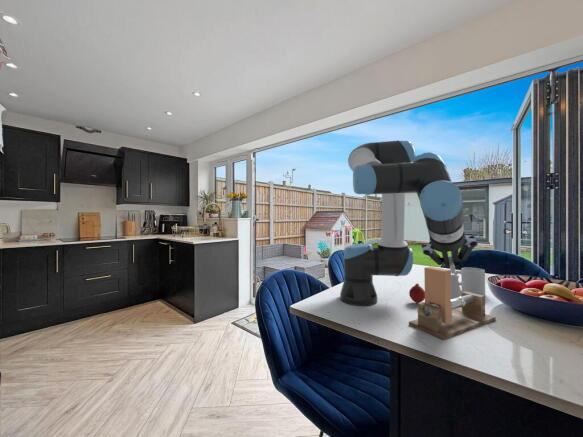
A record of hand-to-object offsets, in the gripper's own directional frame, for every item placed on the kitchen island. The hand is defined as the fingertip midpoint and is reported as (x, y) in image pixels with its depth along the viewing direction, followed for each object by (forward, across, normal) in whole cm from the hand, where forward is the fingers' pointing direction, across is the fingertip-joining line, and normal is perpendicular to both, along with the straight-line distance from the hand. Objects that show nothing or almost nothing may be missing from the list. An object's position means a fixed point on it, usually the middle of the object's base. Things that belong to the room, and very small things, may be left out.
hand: (452, 269), depth 76 cm
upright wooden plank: (+7, -8, -13) cm, 16 cm away
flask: (+36, -1, +2) cm, 36 cm away
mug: (+48, +6, +8) cm, 49 cm away
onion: (+25, -14, -2) cm, 28 cm away
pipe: (+11, -3, -8) cm, 14 cm away
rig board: (+14, -4, -12) cm, 19 cm away
